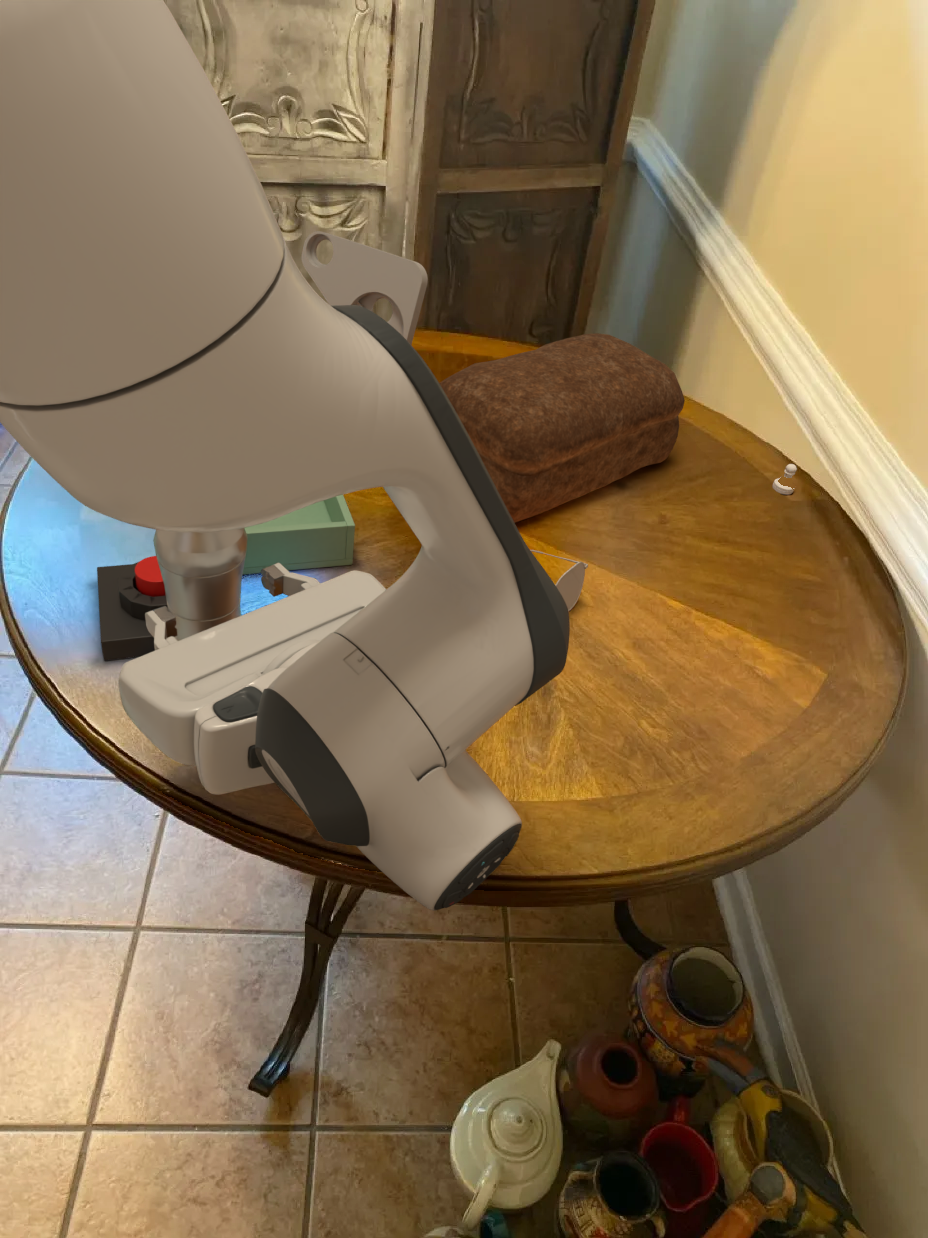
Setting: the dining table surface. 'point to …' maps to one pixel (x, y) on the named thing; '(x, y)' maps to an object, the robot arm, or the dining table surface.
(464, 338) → the dining table surface
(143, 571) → the button
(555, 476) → the bread
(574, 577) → the sunglasses
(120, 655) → the block
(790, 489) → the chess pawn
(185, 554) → the metal bottle
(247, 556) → the tray
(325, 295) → the phone holder
